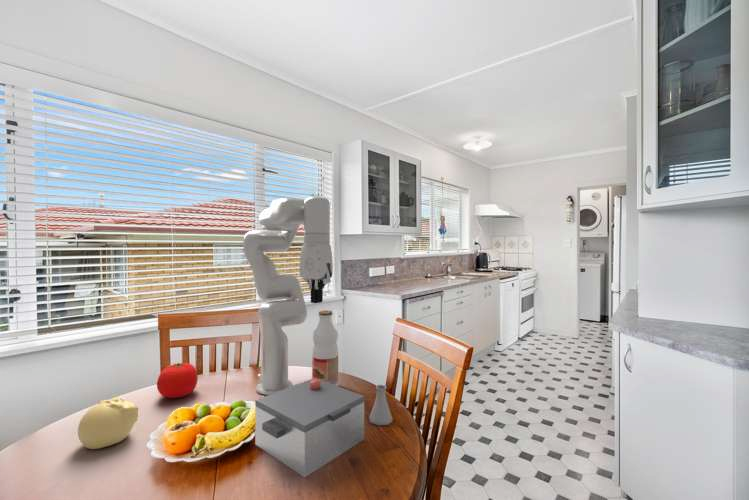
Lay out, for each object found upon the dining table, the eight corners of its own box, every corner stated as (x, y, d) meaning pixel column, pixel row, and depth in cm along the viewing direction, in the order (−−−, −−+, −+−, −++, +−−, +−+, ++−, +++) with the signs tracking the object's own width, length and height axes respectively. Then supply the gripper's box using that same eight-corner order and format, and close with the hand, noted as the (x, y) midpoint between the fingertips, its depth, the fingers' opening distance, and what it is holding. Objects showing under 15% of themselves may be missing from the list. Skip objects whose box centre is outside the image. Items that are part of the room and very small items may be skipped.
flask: (391, 427, 98) (391, 392, 98) (366, 425, 99) (366, 390, 99) (394, 415, 105) (394, 382, 105) (371, 413, 106) (371, 381, 106)
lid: (255, 405, 89) (255, 392, 89) (314, 382, 104) (314, 371, 104) (309, 435, 75) (309, 419, 75) (368, 403, 90) (368, 390, 90)
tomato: (199, 386, 126) (199, 356, 126) (194, 400, 114) (194, 367, 114) (162, 390, 122) (162, 359, 122) (153, 406, 110) (153, 372, 110)
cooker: (246, 448, 87) (246, 409, 87) (320, 412, 106) (320, 380, 106) (295, 483, 74) (295, 437, 74) (369, 435, 93) (370, 398, 93)
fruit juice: (340, 392, 122) (340, 313, 121) (313, 394, 119) (313, 314, 119) (336, 381, 131) (336, 308, 130) (311, 384, 128) (311, 309, 128)
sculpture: (145, 433, 94) (145, 394, 94) (98, 459, 83) (98, 414, 83) (116, 426, 98) (116, 388, 98) (67, 449, 86) (67, 407, 86)
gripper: (290, 240, 102) (290, 301, 102) (324, 239, 93) (324, 307, 93) (310, 240, 108) (310, 298, 108) (344, 240, 99) (343, 303, 99)
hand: (316, 302), depth 101 cm, fingers closed
